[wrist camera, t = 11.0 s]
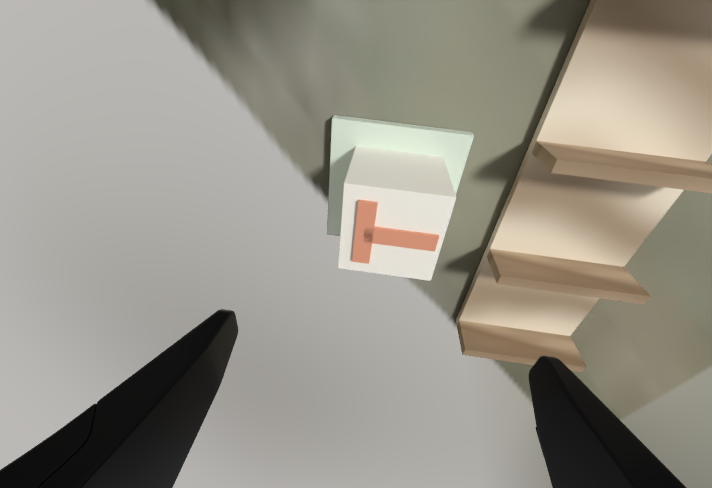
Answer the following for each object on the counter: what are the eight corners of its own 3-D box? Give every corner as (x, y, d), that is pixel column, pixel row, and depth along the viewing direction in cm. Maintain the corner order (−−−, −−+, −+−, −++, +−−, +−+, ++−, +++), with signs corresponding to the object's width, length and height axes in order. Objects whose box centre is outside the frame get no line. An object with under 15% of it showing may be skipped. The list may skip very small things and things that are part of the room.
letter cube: (424, 229, 19) (431, 282, 15) (349, 219, 19) (337, 270, 15) (443, 156, 16) (457, 199, 12) (356, 146, 16) (343, 184, 13)
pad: (437, 243, 20) (438, 249, 20) (328, 228, 20) (327, 234, 20) (471, 132, 16) (473, 135, 15) (334, 114, 16) (332, 118, 16)
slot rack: (563, 335, 24) (581, 372, 21) (455, 320, 24) (462, 354, 21) (828, -16, 12) (943, -25, 9) (607, -40, 12) (660, -54, 9)
